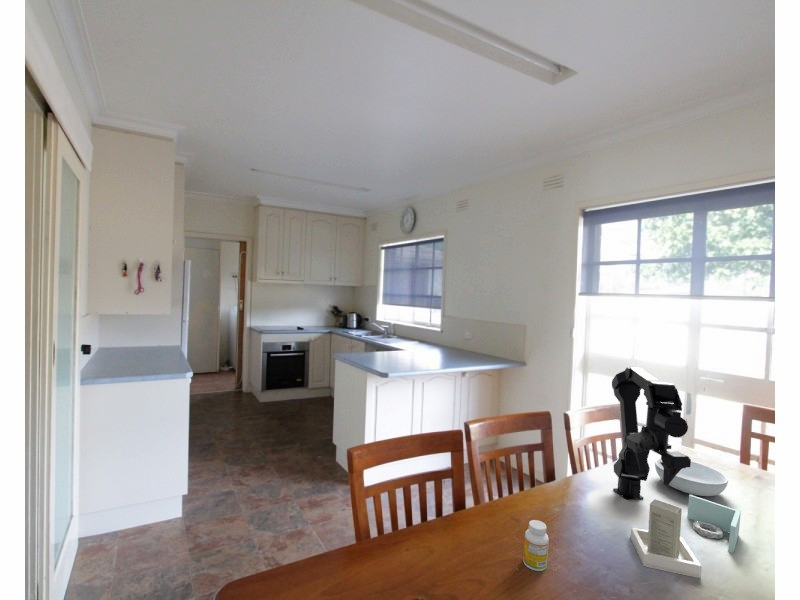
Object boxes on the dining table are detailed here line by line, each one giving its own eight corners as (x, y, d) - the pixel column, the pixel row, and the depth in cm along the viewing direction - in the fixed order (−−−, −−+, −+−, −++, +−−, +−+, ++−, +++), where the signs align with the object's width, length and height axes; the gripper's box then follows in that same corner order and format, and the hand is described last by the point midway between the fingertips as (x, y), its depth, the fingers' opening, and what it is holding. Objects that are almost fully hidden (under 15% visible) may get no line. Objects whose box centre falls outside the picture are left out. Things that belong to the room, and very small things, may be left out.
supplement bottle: (526, 553, 103) (529, 515, 103) (548, 562, 100) (551, 523, 100) (520, 565, 98) (523, 525, 98) (543, 575, 96) (547, 534, 95)
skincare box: (679, 556, 105) (683, 508, 104) (674, 563, 102) (679, 514, 101) (650, 543, 109) (654, 498, 109) (645, 550, 106) (649, 503, 106)
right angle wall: (687, 518, 126) (689, 494, 125) (738, 537, 117) (740, 511, 117) (678, 533, 117) (681, 507, 117) (732, 555, 109) (735, 527, 109)
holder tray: (630, 537, 113) (631, 527, 112) (680, 547, 109) (681, 536, 109) (643, 566, 101) (644, 554, 101) (700, 578, 98) (701, 565, 98)
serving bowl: (722, 487, 148) (724, 468, 148) (730, 512, 130) (732, 490, 130) (654, 469, 159) (655, 452, 159) (652, 490, 141) (654, 471, 141)
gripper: (611, 414, 128) (607, 464, 129) (658, 437, 110) (653, 495, 110) (643, 414, 130) (638, 463, 131) (694, 437, 112) (689, 493, 112)
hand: (653, 477), depth 121 cm, fingers open, 9 cm apart
